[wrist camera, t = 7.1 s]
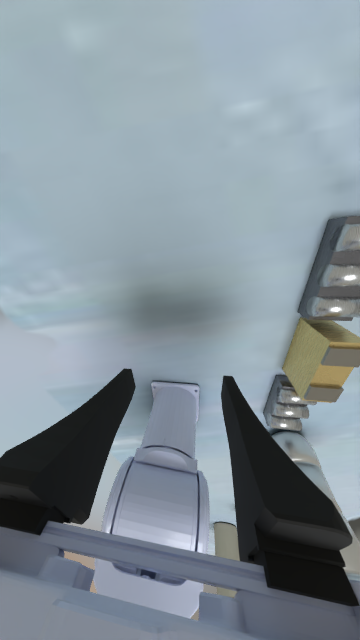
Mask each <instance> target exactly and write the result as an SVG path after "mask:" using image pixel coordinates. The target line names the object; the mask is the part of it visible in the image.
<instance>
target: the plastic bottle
mask: <svg viewBox="0 0 360 640" xmlns="http://www.w3.org/2000/svg"><path fill="white" fill-rule="evenodd" d="M272 438H273V439H274V440H275V441H276V442H277V444H278V445H279V446H280V447H281V448H282V449H283V451H284V452H285V453H286V454H287V455H288V456H289V457H290V458H291V460H292V461H293V462H294V463H295V464H296V465H297V466H298V467H299V468H300V469H301V470H302V471H303V473H304V474H305V475H306V476H307V477H308V478H309V479H310V480H311V481H312V482H313V483H314V484H315V485H316V486H317V487H318V488H319V489H320V490H321V491H322V492H323V493H324V494H325V495H326V496H327V497H328V498H329V499H330V500H331V501H332V502H333V503H334V505H335V507H336V508H337V510H338V512H339V513H340V515H341V517H342V518H343V520H344V522H345V524H346V526H347V528H348V530H349V532H350V534H351V536H352V538H353V541H352V544H351V545H349V546H347V547H345V548H343V549H341V550H339V551H340V553H341V555H342V557H343V560H344V562H345V565H346V567H343V568H344V570H345V573H346V575H347V577H348V580H357V581H360V542H359V541H358V539H357V538H356V536H355V534H354V532H353V530H352V529H351V527H350V525H349V523H348V522H347V520H346V518H345V517H344V516H343V514H342V511H341V509H340V507H339V506H338V504H337V502H336V500H335V498H334V496H333V494H332V491H331V489H330V487H329V485H328V483H327V481H326V478H325V476H324V474H323V472H322V470H321V466H320V463H319V460H318V458H317V456H316V453H315V451H314V449H313V448H312V446H311V445H310V444H309V442H308V441H307V440H306V439H305V438H304V437H303V436H301V435H300V434H298V433H295V432H291V431H283V432H278V433H275V434H273V435H272Z"/></svg>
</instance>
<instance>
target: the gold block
mask: <svg viewBox="0 0 360 640" xmlns="http://www.w3.org/2000/svg"><path fill="white" fill-rule="evenodd" d="M359 365H360V337H358V336H356V335H355V334H353V333H351V332H350V331H348V330H347V329H345V328H343V327H342V326H340V325H338V324H337V323H335V322H334V321H332V320H308V319H306V318H300V319H299V322H298V325H297V328H296V331H295V334H294V336H293V339H292V342H291V345H290V348H289V351H288V353H287V356H286V359H285V362H284V365H283V367H282V369H283V371H284V372H285V374H286V376H287V377H288V379H289V380H290V382H291V384H292V385H293V387H294V388H295V390H296V392H297V393H298V395H299V396H300V398H301V400H305V401H317V402H329V403H332V402H336V401H337V399H338V398H339V396H340V395H341V393H342V391H343V390H344V389H343V388H342V385H343V384H344V382H345V381H346V379H347V377H348V376H349V374H350V373H351V371H352V370H353V368H354V367H359Z"/></svg>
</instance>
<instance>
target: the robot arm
mask: <svg viewBox="0 0 360 640" xmlns="http://www.w3.org/2000/svg"><path fill="white" fill-rule="evenodd" d="M135 387H136V386H135V382H134V378H133V373H132V369H123V370H122V371H121V372H120V373H119V374H118V375H117V376H116V377H115V378H114V379H113V380H111V381H110V382H109V383H108V384H107V385H106V386H105V387H104V388H103V389H102V390H100V391H99V392H98V393H97V394H96V395H94V396H93V397H92V398H91V399H90V400H88V401H87V402H86V403H85V404H83V405H82V406H81V407H79V408H78V409H77V410H75V411H74V412H72V413H71V414H70V415H68V416H67V417H65V418H63V419H62V420H60V421H59V422H57V423H56V424H54V425H53V426H51V427H50V428H48V429H46V430H45V431H43V432H41V433H40V434H38V435H36V436H34V437H32V438H31V439H29V440H27V441H25V442H23V443H21V444H20V445H17V446H16V447H14V448H12V449H10V450H8V451H6V452H5V454H3V456H2V457H1V458H0V640H360V581H357V580H348V577H347V575H346V573H345V570H344V568H343V567H346V565H345V562H344V560H343V557H342V555H341V553H340V551H339V550H341V549H343V548H345V547H347V546H349V545H351V544H352V541H353V538H352V536H351V534H350V532H349V530H348V528H347V526H346V524H345V522H344V520H343V518H342V517H341V515H340V513H339V512H338V510H337V508H336V507H335V505H334V503H333V502H332V501H331V500H330V499H329V498H328V497H327V496H326V495H325V494H324V493H323V492H322V491H321V490H320V489H319V488H318V487H317V486H316V485H315V484H314V483H313V482H312V481H311V480H310V479H309V478H308V477H307V476H306V475H305V474H304V473H303V471H302V470H301V469H300V468H299V467H298V466H297V465H296V464H295V463H294V462H293V461H292V460H291V458H290V457H289V456H288V455H287V454H286V453H285V452H284V451H283V449H282V448H281V447H280V446H279V445H278V444H277V442H276V441H275V440H274V439H273V438H272V436H271V435H270V434H269V433H268V431H267V430H266V429H265V427H264V426H263V425H262V423H261V422H260V421H259V419H258V418H257V416H256V415H255V414H254V412H253V411H252V409H251V408H250V406H249V404H248V403H247V401H246V400H245V398H244V396H243V395H242V393H241V391H240V389H239V388H238V386H237V384H236V382H235V380H234V378H233V377H232V376H224V377H223V384H222V391H221V399H222V410H223V415H224V421H225V426H226V432H227V437H228V442H229V449H230V457H231V466H232V476H233V487H234V498H235V509H236V522H237V534H238V548H239V558H240V561H237V560H232V559H227V558H223V557H218V556H213V555H208V554H207V550H208V541H209V492H208V485H207V481H206V479H205V477H204V475H203V473H202V471H198V470H197V460H195V433H196V422H197V421H198V412H199V386H198V385H193V384H180V383H167V382H152V383H151V387H152V393H153V399H154V403H153V407H152V410H151V414H150V417H149V420H148V424H147V427H146V431H145V434H144V437H143V441H142V444H141V448H137V450H136V454H135V457H129V458H128V459H127V460H126V461H125V462H124V463H123V464H122V465H121V467H120V469H119V471H118V473H117V476H116V479H115V481H114V483H113V486H112V489H111V492H110V495H109V498H108V502H107V505H106V509H105V513H104V517H103V522H102V530H101V532H100V531H95V530H91V529H86V528H81V527H76V526H72V525H67V524H63V523H64V522H66V523H71V522H72V523H77V524H83V523H84V522H85V521H86V520H87V519H88V518H89V515H90V512H91V508H92V505H93V502H94V498H95V495H96V491H97V488H98V485H99V482H100V479H101V475H102V472H103V469H104V466H105V463H106V460H107V457H108V454H109V451H110V449H111V446H112V443H113V440H114V438H115V435H116V433H117V430H118V428H119V426H120V424H121V422H122V419H123V417H124V415H125V413H126V411H127V409H128V406H129V404H130V402H131V400H132V397H133V394H134V390H135ZM64 551H68V552H72V553H76V554H80V555H84V556H88V557H93V558H96V559H95V570H93V569H90V568H87V567H85V566H83V565H82V564H81V563H79V562H76V561H73V560H69V559H66V558H64ZM92 580H93V581H94V584H95V588H96V590H97V594H96V593H93V592H90V586H91V583H92ZM203 584H207V585H211V586H215V587H220V588H224V589H228V590H232V591H237V593H236V594H235V597H234V598H231V597H228V596H223V595H217V594H210V593H205V592H202V591H203ZM198 608H199V620H198V621H197V620H193V619H190V618H191V617H192V615H193V614H194V613H195V612H196V610H197V609H198Z"/></svg>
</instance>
